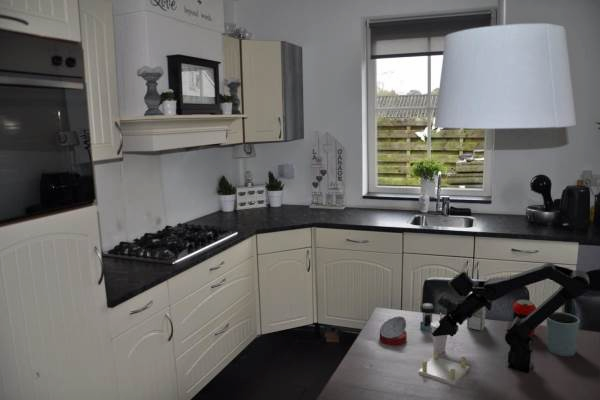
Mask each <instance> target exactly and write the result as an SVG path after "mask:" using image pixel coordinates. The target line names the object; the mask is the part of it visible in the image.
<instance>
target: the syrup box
mask: <svg viewBox="0 0 600 400" xmlns="http://www.w3.org/2000/svg"><path fill="white" fill-rule="evenodd" d="M471 293H472V291H471V292H470V293H469V294H468V295H467V296H469V295H470V294H471ZM486 309H487V308H486V307H485V306H484V307H483V308H482V309H480V310H479V311H477V312H476V313H475V314H473V316H472V317H471V318H470V319H469V318H468V319H466V322H467V323H466V328H467V329H470V330H474V331H480V332H482V331H483V330H484V328H485V326H486Z"/></svg>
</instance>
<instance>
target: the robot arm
mask: <svg viewBox="0 0 600 400" xmlns="http://www.w3.org/2000/svg"><path fill="white" fill-rule="evenodd" d="M545 280H550V281H552V282H554V283H556V284H558V285H560V286H559V288H557V290H556V291H555V292H554V293H552V294H551V295H550V296H549V297H548V298H547V299H546V300H544V302H542V303H541V304H540V305H538V307H536V309H535V310H534V311H533V312H532V313H530V314H529V315H528V316H527V317H525V318H523V319H519V317H518V316H517V317H516V318H515V319H514V321H513V320H512V321H511V322H509V323H508V324H507V327H506V330H505V336H504V340H505V342H506V344H507V345H508V346H509V350H508V352H507V364H508V365H507V368H508V369H511V370H515V371H519V372H522V373H525V374H529V373H530V372H531V371H532V369H533V367H534V364H533V355H534V354H533V353H534V350H533V349H532V346H533V338H531V337H530V334H531V333H532V331H533V330H534V329H536V328H538V327H539V326H540V325H541V324H542V323H543V322H546V321H547V318H548V317H549V316H551V315H552V314H553V313H554V312H557V311H558V310H559V309H560V308H562V306H564V305H565V304H566V303H568V302H569V301H573V300H577V299H578V298H580V297H581V296H583V295H585V294H586V293H588V292H589V290H590V278H589V275H588V274H587V273H586V272H585V271H582V270H580V269H579V270H573V269H570V268H568V267H564V266H560V265H556V264H554V263H550V262H547V263H544V264H542V265H540V266H537V267H534V268H531V269H528V270H525V271H523V272H519V273H516V274H513V275H510V276H504V277H501V276H500V277H495V278H494V277H493V278H489V279H486V280H476V281H474V280H473V279H472V278H471V277H470V276H469V274H468V273H467V271H465V270H463V271H462V272H460V273H459V274H456V275H455V276H453V277H452V278H451V279H450V280H449V281H448V282H447V283H448V284H449V286H450V287H451V288H452V289H453V290H454V291H455V292H456V294H457V295H458V296H460V297H465V298H460V299H459V300H458V299H456V298H455V297H454V296H452V295H451V294H449V293H447V292H445V291H443V292H442V293H441V295H439V298H438V300H437V302H436V303H437V305H439V306H440V307H442V308H444V309H446V314H445V315H442V318H441V319H440V318H439V320H438V321H439V324H440V325H439V326H438V328H437V329H436V330H435V331H434V332H433V333H432V332H431V336H432V335H433V336H434V337H435V336H442V335H447V336H450V337H451V338H452V337H454V336H455V335H456V334H457V333H458V331H459V325H460V326H461V325H462V324H464V323H465V321H467V319H468V318H469V319H470V318H471V317H472V316H473V314H475V313H476V312H477V311H479V310H480V309H482V308H483V307H484V306H485V307H486V309H487V311H491V310H492V308H493V301H494V302H495V301H496V300H499V299H501V298H502V297H504V296H505V295H507V294H509V293H510V292H512V291H513V290H517V289H521V288H523V287H528V286H529V285H533V284H535V283H539V282H542V281H545ZM471 291H472V293H471V294H470V295H469V296H468V294H469V293H470V292H471ZM458 324H459V325H458Z"/></svg>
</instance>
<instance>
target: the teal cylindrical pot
mask: <svg viewBox="0 0 600 400" xmlns="http://www.w3.org/2000/svg"><path fill="white" fill-rule="evenodd" d="M579 327H580V318H579V317H577V316H576V315H574V314H572V313H567V312H559V311H558V312H557V311H555V312H554V313H553V314H552V315H551V316H549V317H548V318H547V319H546V337H547V350H548V351H549V352H550V353H552V354H554V355H556V356H557V355H558V356H561V357H562V356H563V357H571V356H574V355H576V351H577V343H578V337H579V336H578V335H579V330H580V329H579Z"/></svg>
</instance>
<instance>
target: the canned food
mask: <svg viewBox="0 0 600 400" xmlns="http://www.w3.org/2000/svg"><path fill="white" fill-rule="evenodd" d="M406 328H407V323H406V319H405V317H402V316H394V317H391V318H389V319H388V320H386V321H385V322H384V323H383V324H381V327H380V329H379V342H380V343H382V344H384V345H386V346H392V347H398V346H403V345H405V344H406V343H407V342H408V341H407V339H408V338H407V337H408V336H407V335H408V334H407V331H406Z"/></svg>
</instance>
